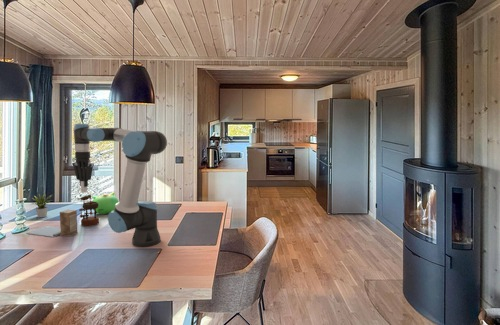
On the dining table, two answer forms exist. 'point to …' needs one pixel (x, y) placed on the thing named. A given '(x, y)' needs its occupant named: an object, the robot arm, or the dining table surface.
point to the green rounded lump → (105, 203)
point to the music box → (92, 219)
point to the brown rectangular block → (68, 222)
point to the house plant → (41, 206)
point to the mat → (47, 231)
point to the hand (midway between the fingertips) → (84, 191)
